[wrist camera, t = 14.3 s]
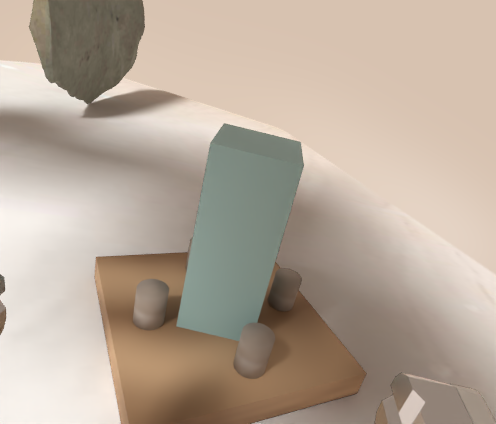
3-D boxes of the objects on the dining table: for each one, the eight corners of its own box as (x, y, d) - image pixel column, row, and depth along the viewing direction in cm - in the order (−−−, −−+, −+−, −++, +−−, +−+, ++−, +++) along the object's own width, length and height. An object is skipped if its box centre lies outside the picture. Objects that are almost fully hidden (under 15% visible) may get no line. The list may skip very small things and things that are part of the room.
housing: (94, 276, 25) (97, 228, 24) (259, 264, 31) (270, 225, 29) (127, 458, 16) (136, 397, 14) (356, 393, 21) (380, 345, 20)
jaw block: (250, 344, 21) (303, 165, 17) (176, 326, 21) (210, 142, 16) (256, 297, 24) (300, 142, 20) (192, 282, 24) (224, 123, 20)
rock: (107, 88, 74) (116, -34, 66) (140, 96, 74) (152, -25, 66) (17, 113, 50) (13, -75, 42) (65, 125, 50) (70, -60, 42)
